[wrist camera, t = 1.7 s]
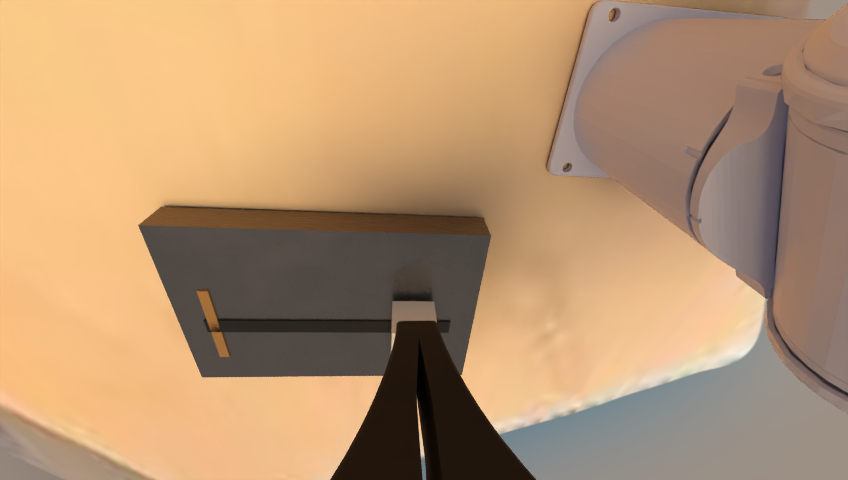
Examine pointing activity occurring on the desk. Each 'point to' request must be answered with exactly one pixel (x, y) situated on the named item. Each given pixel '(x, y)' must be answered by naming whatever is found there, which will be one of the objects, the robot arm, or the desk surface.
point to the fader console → (311, 285)
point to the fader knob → (411, 313)
